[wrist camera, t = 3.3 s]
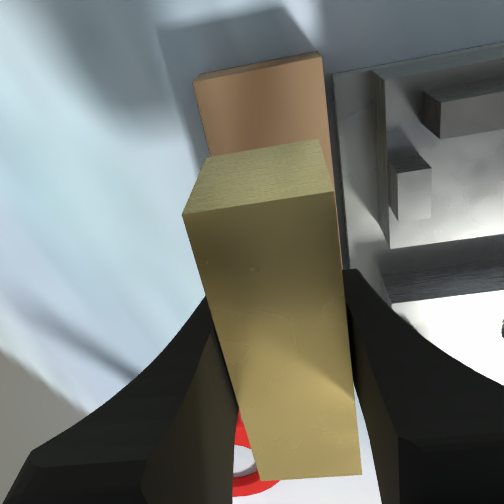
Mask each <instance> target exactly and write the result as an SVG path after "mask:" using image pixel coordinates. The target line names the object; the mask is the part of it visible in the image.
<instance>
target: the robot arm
mask: <svg viewBox="0 0 504 504" xmlns="http://www.w3.org/2000/svg"><path fill="white" fill-rule="evenodd" d="M342 275H343V285H344V295H345V305H346V316H347V326H348V336H349V346H350V356H351V366H352V377H353V383H354V386H355V389H356V393H357V396H358V399H359V403H360V406H361V409H362V413H363V416H364V419H365V423H366V427H367V431H368V435H369V439H370V444H371V449H372V455H373V460H374V465H375V470H376V475H377V480H378V486H379V491H380V496H381V501H382V504H504V385H502V384H500V383H498V382H496V381H494V380H492V379H490V378H488V377H486V376H484V375H483V374H481V373H479V372H477V371H475V370H474V369H472V368H470V367H468V366H467V365H465V364H463V363H462V362H460V361H458V360H457V359H455V358H453V357H452V356H450V355H449V354H447V353H446V352H444V351H443V350H441V349H440V348H438V347H437V346H436V345H434V344H433V343H431V342H430V341H429V340H427V339H426V338H425V337H424V336H422V335H421V334H420V333H419V332H417V331H416V330H415V329H414V328H412V327H411V326H410V325H409V324H408V323H407V322H406V321H405V320H403V319H402V318H401V317H400V316H399V315H398V314H397V313H396V312H395V311H394V310H393V309H392V308H391V307H390V306H389V305H388V304H387V303H386V302H385V301H384V300H383V299H382V298H381V297H380V296H379V295H378V294H377V292H376V291H375V290H374V289H373V288H372V287H371V285H370V284H369V283H368V282H367V280H366V279H365V278H364V277H363V275H362V274H361V272H360V271H359V270H357V269H356V268H354V269H347V270H342ZM238 412H239V406H238V402H237V399H236V396H235V392H234V389H233V385H232V382H231V379H230V375H229V372H228V369H227V365H226V362H225V359H224V355H223V352H222V348H221V345H220V342H219V338H218V335H217V332H216V328H215V325H214V321H213V318H212V315H211V311H210V308H209V305H208V301H207V298H206V296H205V297H204V298H203V300H202V301H201V303H200V304H199V305H198V307H197V308H196V310H195V311H194V312H193V314H192V315H191V316H190V318H189V319H188V320H187V322H186V323H185V324H184V326H183V327H182V328H181V330H180V331H179V332H178V333H177V335H176V336H175V337H174V338H173V339H172V340H171V342H170V343H169V344H168V345H167V346H166V348H165V349H164V350H163V351H162V352H161V353H160V354H159V355H158V356H157V357H156V359H155V360H154V361H153V362H152V363H151V364H150V365H149V366H148V367H146V368H145V369H144V370H143V371H142V372H141V373H140V374H139V375H138V376H137V377H136V378H135V379H134V380H132V381H131V382H130V383H129V384H128V385H127V386H125V387H124V388H123V389H122V390H121V391H119V392H118V393H117V394H116V395H115V396H113V397H112V398H111V399H110V400H108V401H107V402H106V403H104V404H103V405H102V406H100V407H99V408H98V409H96V410H95V411H94V412H92V413H91V414H89V415H88V416H86V417H85V418H84V419H82V420H81V421H79V422H78V423H76V424H75V425H73V426H72V427H70V428H69V429H67V430H65V431H64V432H62V433H60V434H59V435H57V436H56V437H54V438H52V439H51V440H49V441H47V442H46V443H44V444H43V445H41V446H39V447H37V448H36V449H34V450H32V451H31V452H30V454H29V456H28V457H27V459H26V461H25V463H24V465H23V466H22V468H21V470H20V472H19V474H18V476H17V478H16V480H15V481H14V483H13V485H12V487H11V489H10V491H9V492H8V494H7V497H6V498H5V500H4V502H3V504H232V494H233V463H234V444H235V433H236V426H237V419H238Z"/></svg>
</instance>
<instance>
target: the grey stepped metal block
mask: <svg viewBox="0 0 504 504" xmlns="http://www.w3.org/2000/svg"><path fill="white" fill-rule="evenodd" d="M332 83H333V95H334V106H335V117H336V128H337V139H338V150H339V162H340V173H341V184H342V195H343V206H344V217H345V229H346V240H347V251H348V262H349V269H354V268H356V269H357V270H359V271H360V272H361V274H362V275H363V277H364V278H365V279H366V280H367V282H368V283H369V284H370V285H371V287H372V288H373V289H374V290H375V291H376V292H377V294H378V295H379V296H380V297H381V298H382V299H383V300H384V301H385V302H386V303H387V304H388V305H389V306H390V307H391V308H392V309H393V310H394V311H395V312H396V313H397V314H398V315H399V316H400V317H401V318H402V319H403V320H405V321H406V322H407V323H408V324H409V325H410V326H411V327H412V328H414V329H415V330H416V331H417V332H419V333H420V334H421V335H422V336H424V337H425V338H426V339H427V340H429V341H430V342H431V343H433V344H434V345H436V346H437V347H438V348H440V349H441V350H443V351H444V352H446V353H447V354H449V355H450V356H452V357H453V358H455V359H457V360H458V361H460V362H462V363H463V364H465V365H467V366H468V367H470V368H472V369H474V370H475V371H477V372H479V373H481V374H483V375H484V376H486V377H488V378H490V379H492V380H494V381H496V382H498V383H500V384H502V385H504V42H499V43H494V44H488V45H483V46H478V47H473V48H467V49H462V50H457V51H452V52H446V53H441V54H436V55H431V56H425V57H420V58H415V59H410V60H404V61H399V62H394V63H389V64H383V65H378V66H373V67H368V68H362V69H357V70H352V71H347V72H341V73H336V74H332Z"/></svg>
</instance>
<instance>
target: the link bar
mask: <svg viewBox="0 0 504 504" xmlns="http://www.w3.org/2000/svg"><path fill="white" fill-rule="evenodd" d="M182 217H183V220H184V224H185V227H186V231H187V234H188V237H189V241H190V244H191V247H192V251H193V254H194V257H195V261H196V264H197V268H198V271H199V274H200V278H201V281H202V284H203V288H204V291H205V295H206V298H207V301H208V305H209V308H210V311H211V315H212V318H213V321H214V325H215V328H216V332H217V335H218V338H219V342H220V345H221V348H222V352H223V355H224V359H225V362H226V365H227V369H228V372H229V375H230V379H231V382H232V385H233V389H234V392H235V396H236V399H237V402H238V406H239V409H240V412H241V416H242V419H243V423H244V426H245V429H246V433H247V436H248V439H249V443H250V446H251V449H252V453H253V456H254V460H255V463H256V466H257V470H258V473H259V476H260V480H261V481H272V480H288V479H303V478H319V477H334V476H349V475H362V468H361V458H360V448H359V437H358V427H357V417H356V407H355V397H354V387H353V377H352V366H351V356H350V346H349V336H348V326H347V316H346V305H345V295H344V285H343V275H342V265H341V255H340V245H339V234H338V224H337V214H336V204H335V194H334V189H333V185H332V182H331V179H330V175H329V172H328V169H327V165H326V162H325V159H324V155H323V152H322V149H321V145H320V142H319V139H312V140H306V141H301V142H295V143H289V144H283V145H277V146H271V147H265V148H259V149H254V150H248V151H242V152H236V153H230V154H224V155H218V156H212V157H207V158H206V159H205V161H204V164H203V166H202V168H201V171H200V173H199V175H198V178H197V180H196V182H195V185H194V187H193V189H192V192H191V194H190V196H189V199H188V201H187V203H186V206H185V208H184V210H183V212H182Z"/></svg>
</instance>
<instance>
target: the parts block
mask: <svg viewBox="0 0 504 504" xmlns="http://www.w3.org/2000/svg"><path fill="white" fill-rule="evenodd" d="M192 83H193V87H194V91H195V95H196V99H197V103H198V107H199V111H200V116H201V120H202V124H203V128H204V132H205V136H206V140H207V144H208V149H209V153H210V157H212V156H218V155H224V154H230V153H236V152H242V151H248V150H254V149H259V148H265V147H271V146H277V145H283V144H289V143H295V142H301V141H306V140H312V139H319V142H320V145H321V149H322V152H323V155H324V159H325V162H326V165H327V169H328V172H329V175H330V179H331V182H332V185H333V189H334V194H335V186H334V176H333V166H332V156H331V146H330V135H329V125H328V115H327V105H326V95H325V85H324V74H323V64H322V57H321V55H320V54H319V53H318V51H315V52H310V53H305V54H300V55H295V56H290V57H285V58H280V59H275V60H270V61H265V62H260V63H255V64H250V65H245V66H240V67H235V68H230V69H225V70H220V71H215V72H210V73H204V74H200V75H199V76H198V77H197V78H196V79H195V80H194V81H193V82H192ZM335 204H336V196H335ZM336 214H337V207H336ZM337 224H338V217H337ZM338 234H339V227H338ZM339 245H340V237H339ZM340 255H341V247H340ZM341 265H342V257H341ZM342 270H343V268H342Z"/></svg>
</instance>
